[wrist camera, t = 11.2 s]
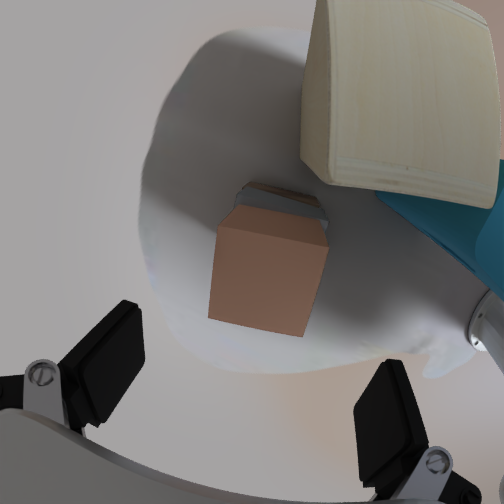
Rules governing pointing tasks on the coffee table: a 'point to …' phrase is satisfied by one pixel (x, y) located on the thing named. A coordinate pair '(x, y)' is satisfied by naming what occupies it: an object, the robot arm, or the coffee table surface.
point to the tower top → (279, 204)
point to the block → (461, 230)
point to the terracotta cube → (267, 269)
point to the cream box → (402, 99)
